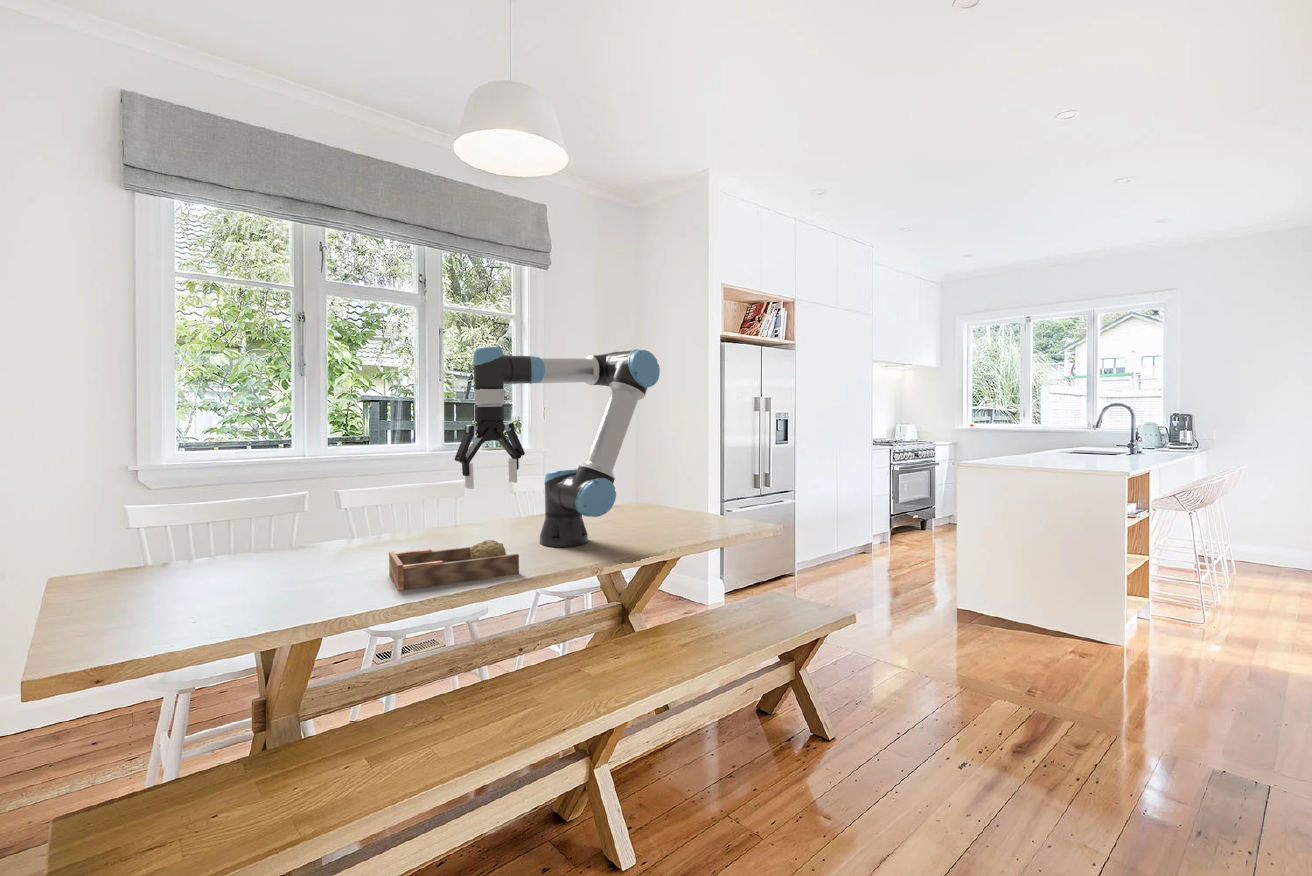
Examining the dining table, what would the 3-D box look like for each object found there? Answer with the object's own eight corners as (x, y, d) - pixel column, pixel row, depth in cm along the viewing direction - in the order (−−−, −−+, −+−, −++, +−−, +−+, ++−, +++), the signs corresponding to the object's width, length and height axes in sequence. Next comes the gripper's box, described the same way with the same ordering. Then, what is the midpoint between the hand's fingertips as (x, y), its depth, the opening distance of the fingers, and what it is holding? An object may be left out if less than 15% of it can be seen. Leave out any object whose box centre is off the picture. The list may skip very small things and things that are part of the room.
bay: (501, 560, 174) (501, 539, 174) (518, 573, 161) (518, 551, 161) (389, 575, 159) (388, 552, 159) (398, 590, 146) (397, 565, 146)
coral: (510, 572, 162) (510, 543, 162) (474, 576, 158) (474, 547, 158) (502, 564, 171) (502, 536, 170) (467, 568, 167) (467, 540, 166)
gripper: (519, 404, 177) (521, 478, 178) (438, 406, 158) (441, 489, 159) (536, 404, 172) (538, 480, 173) (454, 407, 153) (457, 492, 155)
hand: (492, 485), depth 166 cm, fingers open, 13 cm apart
